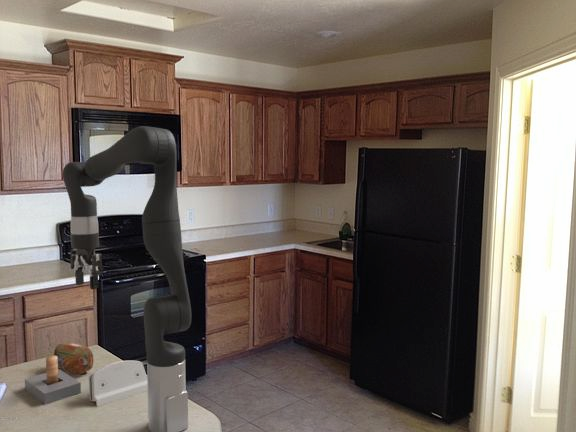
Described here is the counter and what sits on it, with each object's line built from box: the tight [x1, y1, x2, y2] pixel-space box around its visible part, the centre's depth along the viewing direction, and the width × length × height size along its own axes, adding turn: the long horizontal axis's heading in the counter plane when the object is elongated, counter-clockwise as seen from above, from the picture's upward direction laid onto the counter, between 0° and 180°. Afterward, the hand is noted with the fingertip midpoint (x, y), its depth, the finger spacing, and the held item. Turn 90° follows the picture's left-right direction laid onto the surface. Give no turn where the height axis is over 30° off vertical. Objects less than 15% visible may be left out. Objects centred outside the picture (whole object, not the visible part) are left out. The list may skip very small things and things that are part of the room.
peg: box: [45, 354, 59, 385], centre depth 152 cm, size 3×3×10 cm
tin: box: [53, 342, 94, 375], centre depth 167 cm, size 15×3×8 cm, turn 64°
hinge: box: [88, 359, 148, 407], centre depth 151 cm, size 17×5×10 cm, turn 133°
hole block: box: [24, 368, 82, 405], centre depth 152 cm, size 14×10×3 cm
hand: (86, 286), depth 155 cm, fingers open, 8 cm apart
